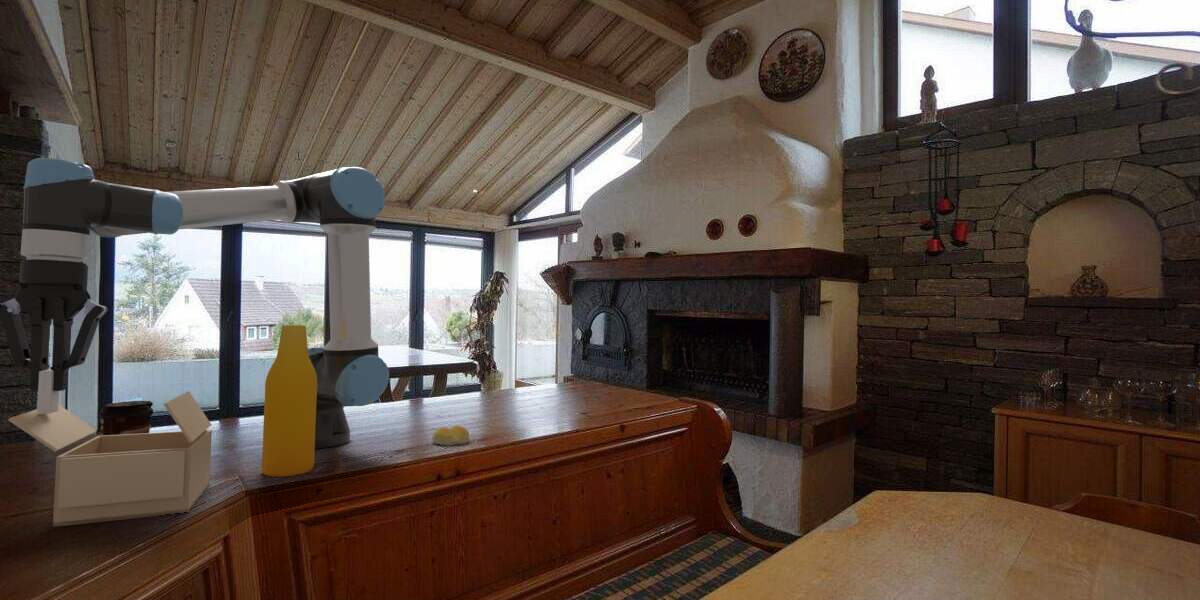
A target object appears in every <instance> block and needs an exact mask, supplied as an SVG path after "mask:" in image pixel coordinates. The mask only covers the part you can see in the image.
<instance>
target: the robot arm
mask: <svg viewBox="0 0 1200 600" xmlns="http://www.w3.org/2000/svg"><path fill="white" fill-rule="evenodd" d="M26 166H27V167H26V172H25V173H26V174H25V179H24V180H25V181H24V185H23V213H22V215H23V217H22V230H21V231H22V233H21V245H20V255H21V256H23V257H26V259H22V261H20V262H19V265H20V267H19V288H18V289H17V291H16V292H15V294H14V298H12V299H9V300H7V301H5V302H2V303H0V319H1V322H2V325H3V329H4V333H5V337H6V340H7V344H8V348H9V352H10V354H11V355H10V356H11V359H12V363H13V364H14V366H16V367H18V368H19V367H20V368H24V369H28V370H29V371H30V385H29V386H30V387H29V389H30V391H31V392H33V393H34V392H35V393H36V392H37V404H36V405H37V407H36V410H37V414H51V413H54V412H56V411H58V404H59V403H60V402H59V400H60V398H59V397H60V392H62V391H66V389H67V387H68V377H69V371H70V369H71V368H73V367H77V366H80V365H83V364H85V361H86V358H87V356H88V354H89V353H88V352H89V351H90V347H91V345H92V342H93V339H94V337H95V333H96V330H97V328H98V326H99V322H100V320H101V319H102V318H103V317H104V316H105V315H106V314H107V313H108V311H109V308H108V307H107V306H106V305H101V304H98V302H96V301H93V300H91V295H90V294H89V292H88V281H89V280H88V278H89V276H88V275H89V266H88V265H87V263H85V262H84V261H87V260H88V259H89V252H90V237H91V234H92V235H95V236H98V237H101V238H107V239H108V238H118V237H119V238H120V237H123V236H131V235H141V234H153V235H168V236H169V235H174V234H175V233H177V232H178V231H179V230H187V229H188V230H189V229H197V228H208V227H217V226H218V227H219V226H226V225H237V224H247V223H248V224H249V223H256V222H257V223H258V222H267V221H279V220H280V221H281V222H282V223H284V224H290V223H291V224H292V223H319V227H320V228H321V230H322V231H324V232H325V233H326V235H327V253H328V254H327V255H328V256H327V259H328V291H329V292H328V297H329V326H330V327H329V332H330V333H329V335H330V339H329V341H328V342H327V343H326V344H325V345H324V346H314V347H308V355H309V358H310V361H311V363H312V365H313V367H314V369H315V372H316V376H317V400H316V426H315V449H324V448H325V449H326V448H330V447H337V446H340V445H341V446H342V445H344V444H346V443H348V442H350V441H351V429H350V426H349V423H348V419H347V417H346V412H345V408H344V406H346V407H363V406H364V407H365V406H368V405H370V404H372V403H374V402H375V401H376V400H378V399H379V398H380V397H381V396H382V394H384V392H385V391H386V388H387V386H388V384H389V380H390V379H389V378H390V371H389V366H388V365H387V363H386V362H385V361H384V360H383V359H382V358H381V357H379V344H378V343H377V342H376V341H375V340H373V339H372V321H371V320H372V318H371V315H372V314H371V311H372V310H371V281H370V280H371V275H370V274H371V272H370V269H371V268H370V235H371V234H372V233H373V232H374V231H375V230H376V228H377V227H376V217H377V216H378V215H379V214H380V213H381V211H382V210H383V209H384V207H385V205H386V204H385V203H386V195H385V190H384V188H383V185H382V184H381V182H380V181H379V179H377V177H376V176H375V175H374V174H373V173H372V172H371V171H369V170H367V169H366V168H363V167H360V166H342V167H339V168H337V169H333V170H328V171H324V172H319V173H315V174H312V175H308V176H305V177H304V176H303V177H300V178H295V179H291V180H278V181H275V183H273V185H267V186H253V187H252V186H250V187H249V186H248V187H235V188H234V187H233V188H215V189H213V188H212V189H196V190H178V191H177V190H175V191H162V190H161V191H160V190H159V189H150V188H145V187H144V188H143V187H138V186H131V185H125V184H118V183H112V182H107V181H102V180H99V179H95V176H94V170H93V169H92V168H91V166H89V165H86V164H85V163H80V162H76V161H73V160H67V159H60V158H52V157H51V158H50V157H38V158H37V157H36V158H35V159H31V160H30V161H29V162H28V163H27V165H26ZM21 308H22V309H23V310H24V311H25V312H26V313H27V314H28V315H29V317H30V325H31V335H30V337H31V338H30V347H29V342H28V339H27V336H26V335H27V334H26V332H25V327H24V324H23V319H22V317H21V316H20V313H21ZM84 308H85V309H84ZM83 309H84V314H85V316H84V318H83V319H82V322H81V325H80V328H79V330H78V333H77V336H76V338H75V341H74V343H73V344H74V345H73V347H72V349H71V343H72V327H73V325H74V317H76V315H78V313H80V312H81V311H82V310H83ZM51 325H53V347H52V348H53V349H52V366H51V365H50V364H49V352H50V351H49V349H50V335H51V334H50V332H51Z"/></svg>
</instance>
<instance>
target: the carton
mask: <svg viewBox="0 0 1200 600" xmlns="http://www.w3.org/2000/svg"><path fill="white" fill-rule="evenodd" d="M212 433H213V429H206V430H205V431H204V432H203V433H202V434H201V435H199V436H198V437H197V438H196V439H195V440H194V441H192V442H189V441H188V439H187V438H186V437H185V435H184V434H183V432H182V431H165V432H149V433H142V434H123V435H105V436H101V435H97V436H95V437H94V438H91V439H89V440H87V441H85V442H83V443H81V444H80V445H77V446H76V447H73V448H72V449H70V450H68V451H65V452H64V453H62V454H60V455H57V456H56V463H55V481H54V485H55V486H54V500H53V515H52V516H53V517H52V518H53V519H52V528H57V527H65V526H75V525H83V524H92V523H103V522H112V521H121V520H122V521H123V520H131V519H141V518H142V519H143V518H150V517H160V516H159V515H162V516H166V515H165V514H171V515H176V514H175V513H180V514H185V513H184V512H188V513H189V512H190V511H191V510H192V509H191V507H192V506H193V505H194V504H195V505H196V503H197V502H198V501H199V499H200V498H201V497H202V496H203V494H204V493H205V492H204V491H206V490H207V489H208V488H207V487H210V482H211V481H210V480H211V479H210V478H211V460H212V459H211V455H212ZM206 488H207V489H206ZM203 492H204V493H203ZM201 495H202V496H201ZM200 496H201V497H200ZM199 497H200V498H199ZM198 498H199V499H198ZM197 500H198V501H197ZM196 501H197V502H196ZM195 502H196V503H195ZM195 505H194V506H195ZM194 506H193V507H194ZM193 507H192V508H193ZM190 509H191V510H190ZM189 510H190V511H189Z"/></svg>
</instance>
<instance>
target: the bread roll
mask: <svg viewBox="0 0 1200 600" xmlns="http://www.w3.org/2000/svg"><path fill="white" fill-rule="evenodd" d="M431 440H432V443H433V444H434V443H435V444H434V445H437V444H440V445H439V446H445V445H447V446H455V445H465V444H467V443H469V442H470V441H471V439H470V432H469V430H468V429H467V428H466V427H464V426H461V425H454V426H452V427H451V428H450V427H449V428H448V427H442V428H438V429H436V431H435V432H433V435H432V438H431Z"/></svg>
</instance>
